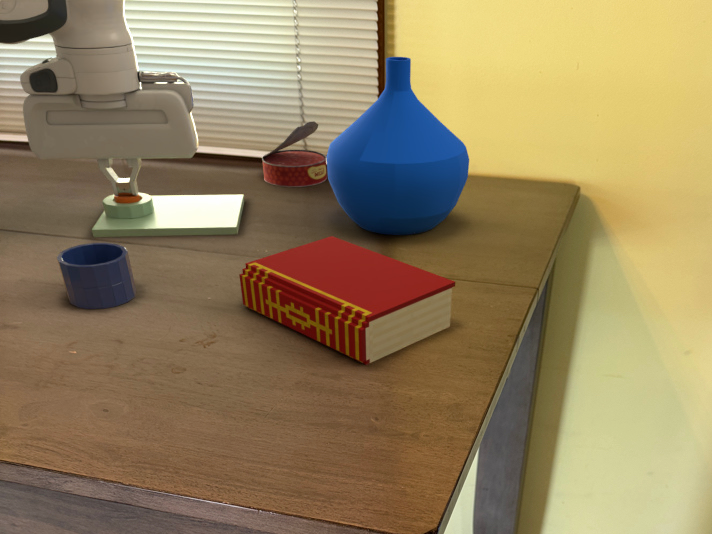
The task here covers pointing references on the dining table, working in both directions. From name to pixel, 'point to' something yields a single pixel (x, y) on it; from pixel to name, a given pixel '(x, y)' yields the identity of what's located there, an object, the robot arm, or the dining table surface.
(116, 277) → the cup
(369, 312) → the book
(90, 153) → the robot arm
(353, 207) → the vase
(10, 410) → the dining table surface
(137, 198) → the button
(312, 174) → the canned food
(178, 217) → the scale
